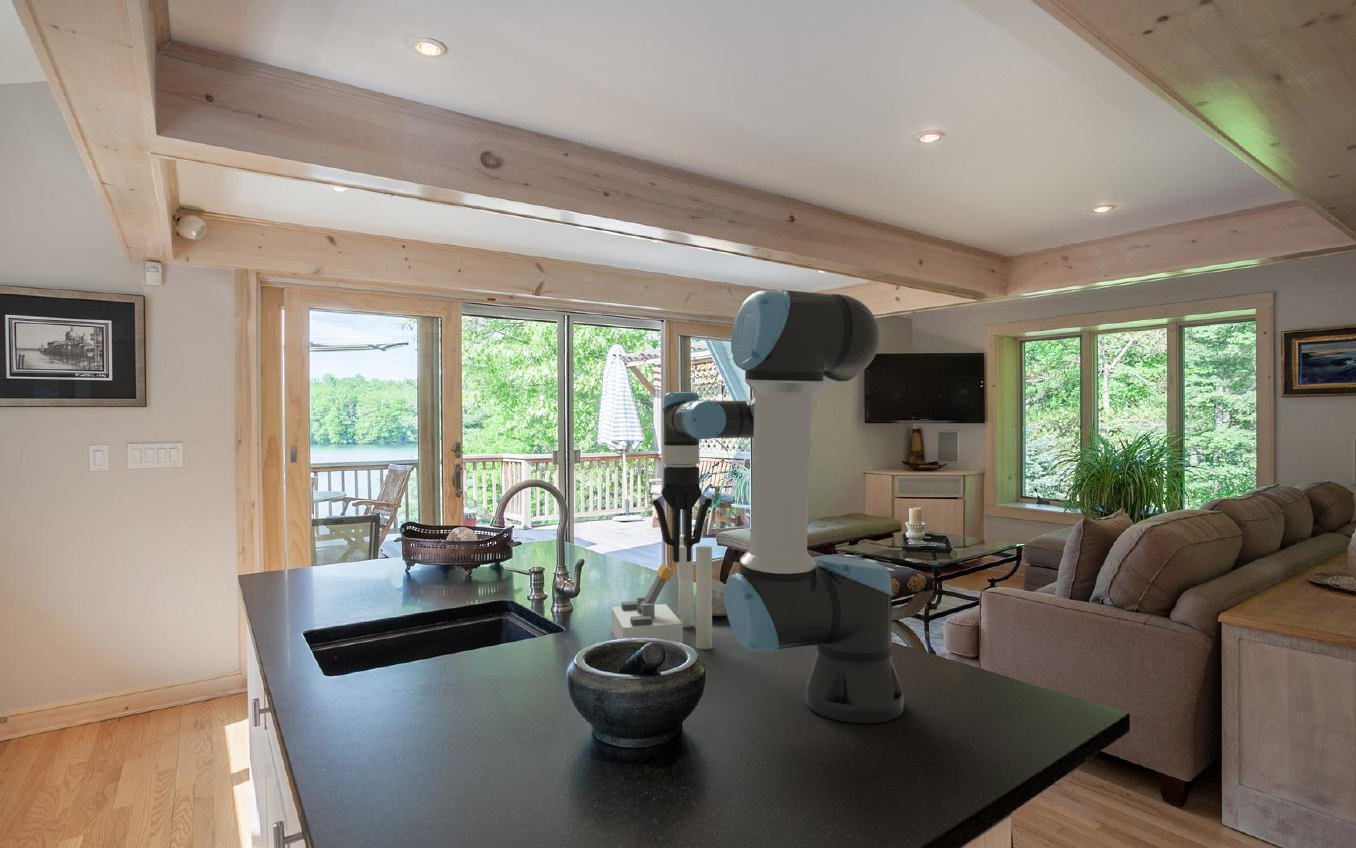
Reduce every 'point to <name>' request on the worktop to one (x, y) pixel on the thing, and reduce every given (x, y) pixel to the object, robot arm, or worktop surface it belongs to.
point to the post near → (704, 597)
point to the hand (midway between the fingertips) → (681, 577)
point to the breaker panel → (646, 621)
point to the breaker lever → (657, 584)
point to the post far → (686, 593)
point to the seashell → (717, 598)
